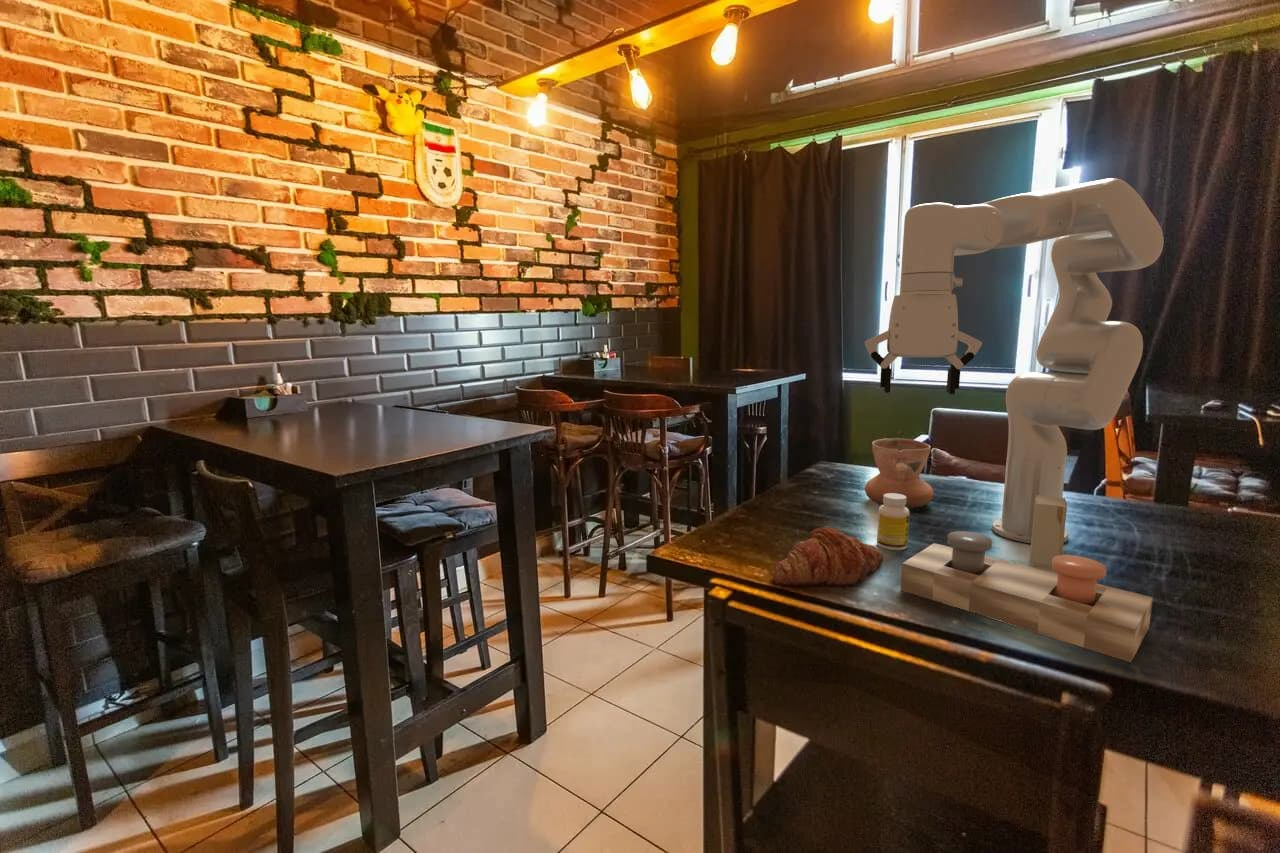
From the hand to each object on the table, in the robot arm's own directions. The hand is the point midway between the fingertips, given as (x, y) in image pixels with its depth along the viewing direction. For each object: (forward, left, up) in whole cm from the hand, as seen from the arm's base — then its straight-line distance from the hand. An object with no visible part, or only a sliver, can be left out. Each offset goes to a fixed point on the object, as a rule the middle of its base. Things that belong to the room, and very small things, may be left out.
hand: (918, 392), depth 100 cm
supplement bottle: (-7, -6, -31) cm, 32 cm away
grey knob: (+4, +11, -27) cm, 29 cm away
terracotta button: (+4, +25, -27) cm, 37 cm away
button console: (+4, +18, -30) cm, 35 cm away
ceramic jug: (-33, -17, -31) cm, 48 cm away
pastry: (+12, -8, -31) cm, 34 cm away
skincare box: (-14, +17, -31) cm, 38 cm away
